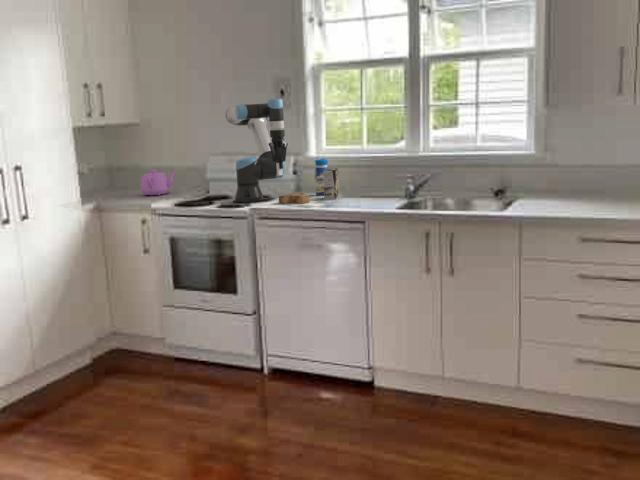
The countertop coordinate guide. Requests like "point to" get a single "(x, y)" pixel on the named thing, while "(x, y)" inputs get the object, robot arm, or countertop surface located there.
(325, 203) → the slate board
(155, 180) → the teapot
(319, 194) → the beverage bottle
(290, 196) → the walnut t block
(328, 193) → the coffee box
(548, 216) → the countertop surface
